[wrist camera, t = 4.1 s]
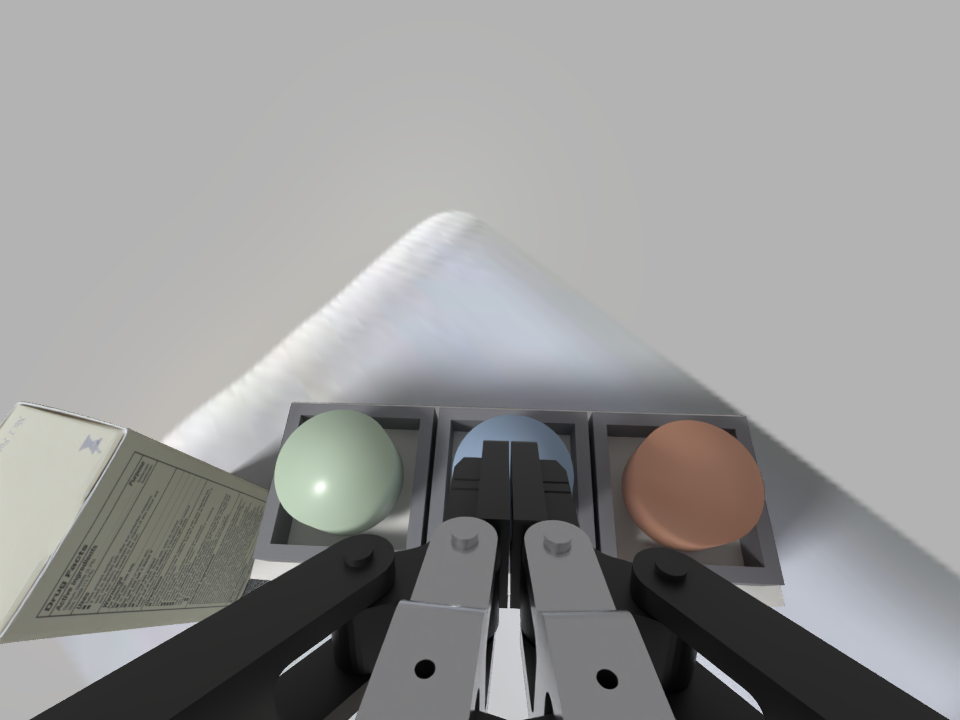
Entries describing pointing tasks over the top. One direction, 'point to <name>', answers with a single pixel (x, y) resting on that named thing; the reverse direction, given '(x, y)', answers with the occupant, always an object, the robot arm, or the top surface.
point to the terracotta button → (693, 486)
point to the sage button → (339, 473)
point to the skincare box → (114, 529)
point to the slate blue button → (516, 431)
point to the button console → (596, 493)
